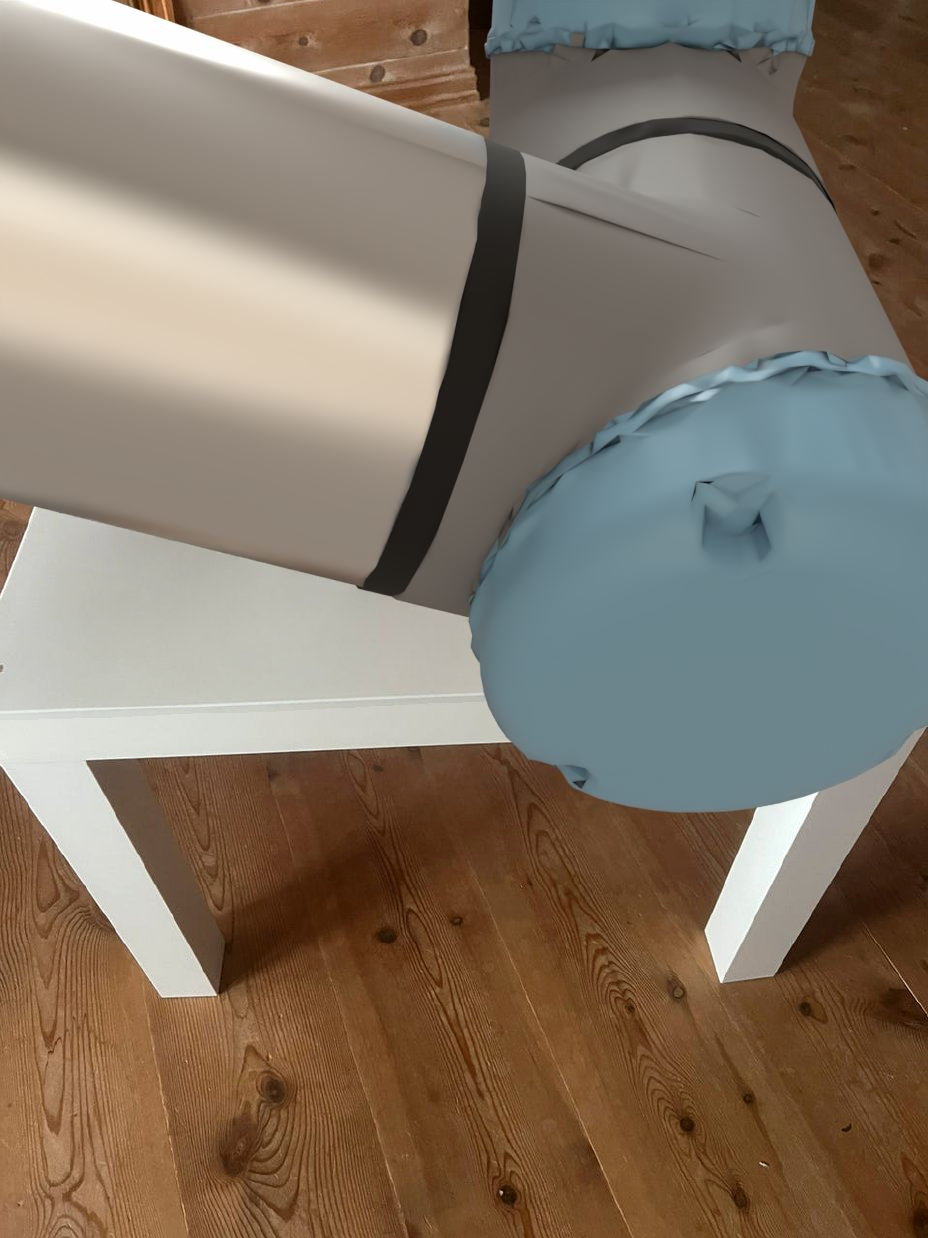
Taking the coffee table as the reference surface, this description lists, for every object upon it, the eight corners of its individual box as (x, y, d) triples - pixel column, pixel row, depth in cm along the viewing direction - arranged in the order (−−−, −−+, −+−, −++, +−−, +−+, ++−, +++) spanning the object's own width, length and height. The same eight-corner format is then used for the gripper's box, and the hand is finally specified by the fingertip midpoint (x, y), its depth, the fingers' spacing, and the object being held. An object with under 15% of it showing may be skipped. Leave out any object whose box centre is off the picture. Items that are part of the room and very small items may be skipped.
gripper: (145, 561, 36) (-98, 322, 46) (613, 304, 47) (333, 159, 58) (86, 382, 30) (-175, 157, 41) (633, 140, 42) (319, 12, 52)
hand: (122, 158), depth 49 cm, fingers open, 13 cm apart
